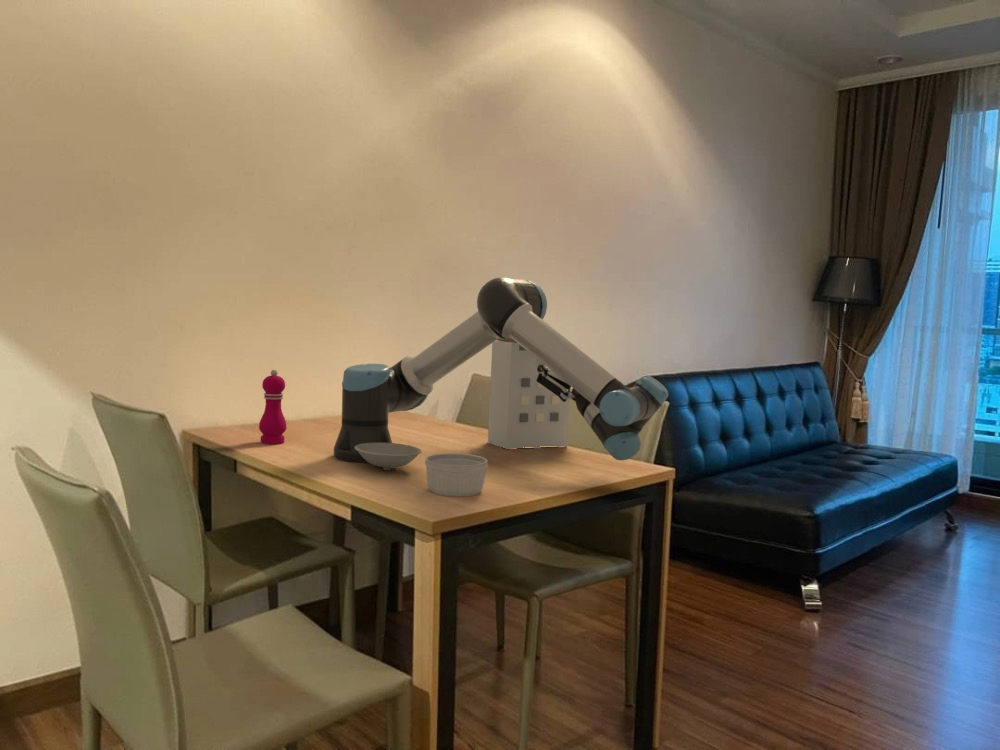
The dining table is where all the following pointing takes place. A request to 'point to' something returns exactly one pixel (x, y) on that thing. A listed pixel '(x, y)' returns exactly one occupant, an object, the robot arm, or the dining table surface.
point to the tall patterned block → (523, 402)
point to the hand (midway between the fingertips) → (559, 359)
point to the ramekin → (455, 474)
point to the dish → (387, 454)
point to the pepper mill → (273, 410)
